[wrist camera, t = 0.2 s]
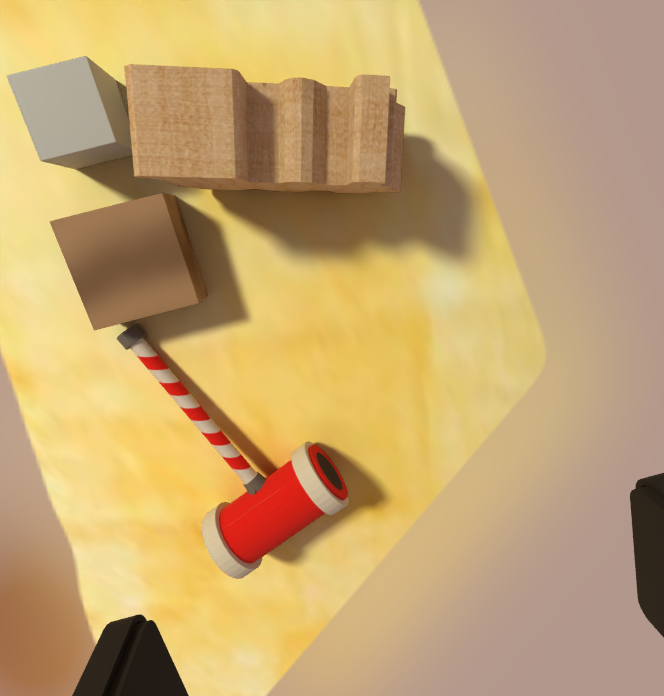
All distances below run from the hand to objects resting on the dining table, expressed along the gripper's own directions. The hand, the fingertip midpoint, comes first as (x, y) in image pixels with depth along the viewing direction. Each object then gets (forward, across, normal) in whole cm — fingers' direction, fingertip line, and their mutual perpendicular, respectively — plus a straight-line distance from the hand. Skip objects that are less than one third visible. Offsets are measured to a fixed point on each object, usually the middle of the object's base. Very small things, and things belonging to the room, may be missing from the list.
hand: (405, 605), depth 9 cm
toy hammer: (+31, +11, +10) cm, 35 cm away
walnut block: (+31, +12, -8) cm, 34 cm away
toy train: (+31, 0, -13) cm, 33 cm away
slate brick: (+31, +12, -18) cm, 38 cm away
